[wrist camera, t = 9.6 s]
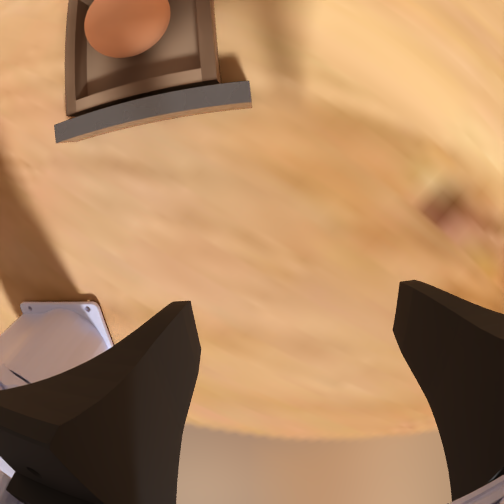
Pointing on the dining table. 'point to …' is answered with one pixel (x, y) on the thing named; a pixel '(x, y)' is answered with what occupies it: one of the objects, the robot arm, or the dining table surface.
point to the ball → (126, 25)
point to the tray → (141, 60)
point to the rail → (156, 110)
